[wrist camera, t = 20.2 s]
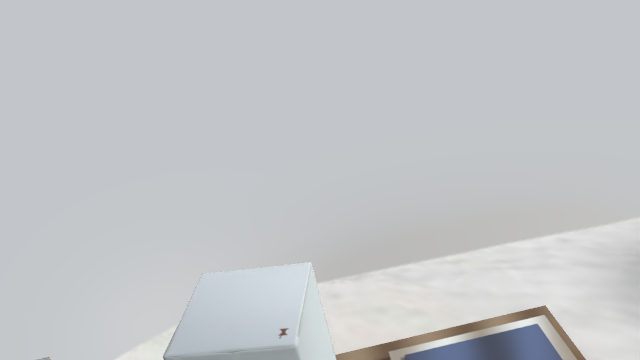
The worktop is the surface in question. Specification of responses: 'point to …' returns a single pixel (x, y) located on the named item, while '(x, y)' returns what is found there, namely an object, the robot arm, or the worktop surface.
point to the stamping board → (483, 341)
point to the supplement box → (254, 317)
